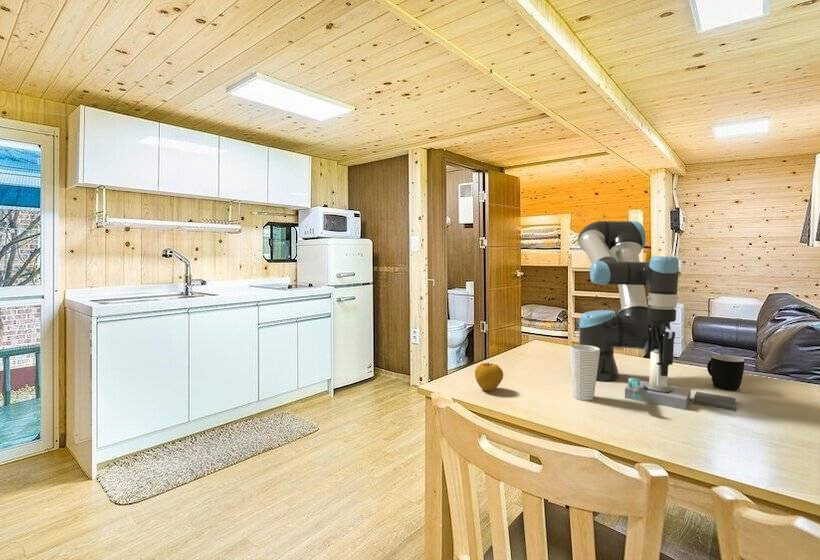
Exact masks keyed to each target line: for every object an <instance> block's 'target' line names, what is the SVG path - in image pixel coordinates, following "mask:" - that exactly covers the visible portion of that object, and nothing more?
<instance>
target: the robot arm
mask: <svg viewBox="0 0 820 560" xmlns="http://www.w3.org/2000/svg"><path fill="white" fill-rule="evenodd" d="M646 236H647V235H646V230H645V228H644V226H643V224H642V223H641V222H639V221H635V220H634V221H632V220H625V221H618V220H612V221H611V220H610V221H609V220H607V221H605V220H600V221H599V220H598V221H595V222H591V223H589V224H587V225H586V226H585V227H583V228H582V229H581V230H580V232H579V233H578V238H577V242H578V246H579V248H580V250H582V251H583V252H584V253H586V255H587V258H588V259H589V262H590V263H591V264H590V269H589V270H590V271H589V276H590V277H589V278H590V281H591V283H592V284H595V285H603V286H605V285H617V286H618V294H619V300H620V308H621V309H619V310H618V312H617V313H616V311H614V310H610V309H609V310H608V309H607V310H604V309H599V310H590V311H586V312H583V313H582V314H581V315H580V316H579V317H580V318H579V325H578V328H579V331H578V332H579V334H578V335H579V338H578V339H579V340H578V345H590V346H595V347H598V348H599V349H600V355H599V362H598V370H597V377H596V381H601V382H602V381H603V382H604V381H605V382H608V381H615V380H617V379H619V370H618V367H617V362H616V360H615V355H614V354H615V353H614V351H615V348H618V349H620V348H621V349H636V350H647V351H646V353H647V356H648V357H649V359H650V355H651V352H652V351H654V349H659V363H657V365H658V368H657V386H667V385H668V381H669V366H673V364H674V363H673V362H674V347H675V346H674V344H675V337H676V332H675V331H672V330H671V323H674V322H675V321H676V320H677V309H676V308H677V307H678V287H679V285H678V284H679V271H680V267H679V262H680V261H679V258H678V257H677V256H657V255H656V256H651V257H650V259H649V261H640V257H639V255H640V254H641V253H642V250H643V249H644V248H645V245H646V243H647V241H646V240H647V239H646ZM645 286H648V296H646V290H645ZM647 301H648V302H647Z"/></svg>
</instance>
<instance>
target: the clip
mask: <svg viewBox="0 0 820 560" xmlns="http://www.w3.org/2000/svg"><path fill="white" fill-rule="evenodd" d="M640 380H641V379H639V378H637V377H629V378H628V379H627V381H628V382H627V385H628V384H629V385H632V390H633V395H634V399H638V400H637V401H639V400H640V394H641V390H642V389H640V388H639V387H638V386H640ZM634 399H633V400H634Z"/></svg>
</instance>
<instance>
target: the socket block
mask: <svg viewBox="0 0 820 560" xmlns="http://www.w3.org/2000/svg"><path fill="white" fill-rule="evenodd" d="M646 382H647V380H646V381H645V380H641V379H640V386H638V387H639V388H640V389H642V390H641V394H640V400H638V399H634V395H633V390H632V385H629V384H628V383H627V386H625V387H624V398H625V399H628V400H635V401H640V402H644V403H650V404H655V405H660V406H665V407H671V408H674V409H680V410H685V411H686V410H687V408H688V406H689V403H690V400H691V395H692V388H687V387H681V386H674V385H670V384H668V385H669V386H671V387H673V391H671V392H667V393H663V392H658V391H652V390H649V389H647V388H645V387H643V384H644V383H646Z"/></svg>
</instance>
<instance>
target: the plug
mask: <svg viewBox="0 0 820 560" xmlns="http://www.w3.org/2000/svg"><path fill="white" fill-rule="evenodd" d="M649 360H650V361H649V375H648V376H649V377H648V379H649V380H648V381H646V383H644V384H643V387H645V388H647V389H649V390H652V391H658V392H663V393H667V392H671V391H673V387H671V386H672V385H670V384H667V386H657V368H658V365H657V363H659V349H654V351H652V352H651V355H650V358H649ZM669 385H670V386H669Z"/></svg>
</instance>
